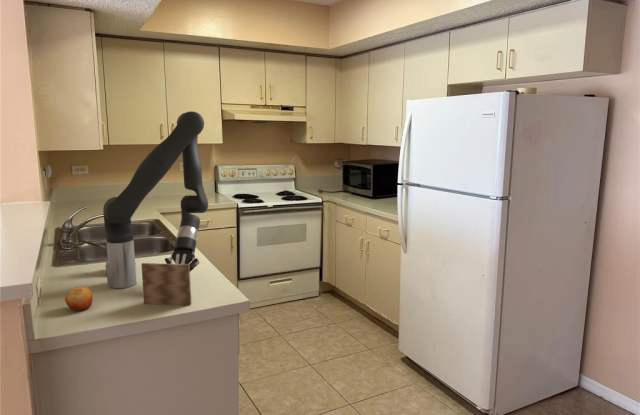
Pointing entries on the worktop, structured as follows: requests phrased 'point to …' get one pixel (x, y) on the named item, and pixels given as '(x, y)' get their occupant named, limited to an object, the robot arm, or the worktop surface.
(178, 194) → the worktop surface
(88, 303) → the fruit
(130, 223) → the robot arm
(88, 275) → the worktop surface
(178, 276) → the brown wooden block
